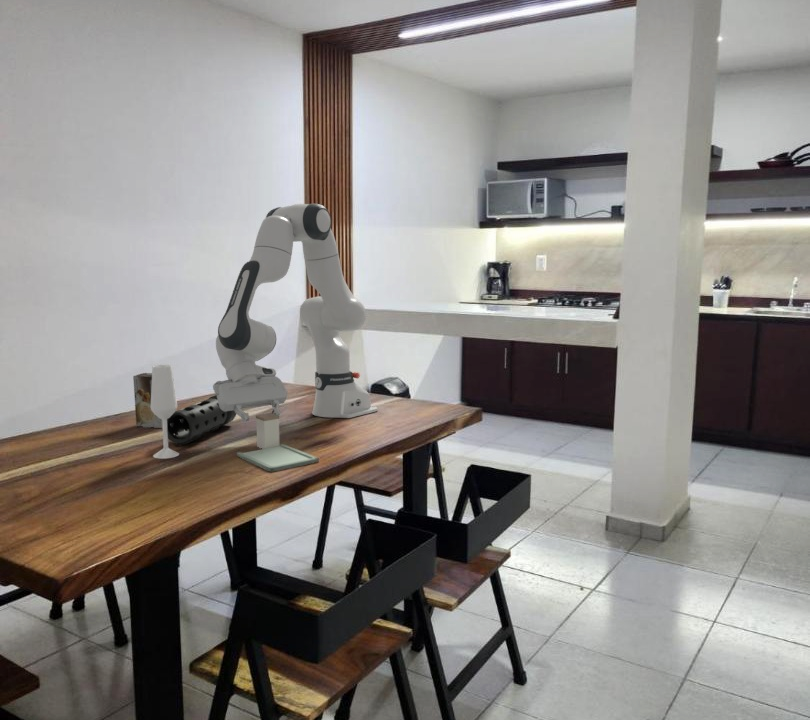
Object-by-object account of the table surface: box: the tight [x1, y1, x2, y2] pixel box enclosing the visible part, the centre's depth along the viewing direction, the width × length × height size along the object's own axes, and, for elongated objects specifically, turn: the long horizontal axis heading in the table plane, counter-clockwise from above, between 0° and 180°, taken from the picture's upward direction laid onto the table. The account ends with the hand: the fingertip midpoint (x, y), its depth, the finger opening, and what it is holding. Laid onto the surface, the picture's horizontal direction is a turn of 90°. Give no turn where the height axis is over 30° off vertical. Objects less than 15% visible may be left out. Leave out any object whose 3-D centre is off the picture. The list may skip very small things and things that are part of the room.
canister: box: [255, 412, 280, 450], centre depth 200 cm, size 5×5×9 cm
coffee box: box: [133, 372, 163, 429], centre depth 225 cm, size 9×6×16 cm
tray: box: [236, 443, 320, 473], centre depth 189 cm, size 14×18×1 cm
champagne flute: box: [151, 364, 180, 460], centre depth 191 cm, size 7×7×24 cm
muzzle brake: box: [167, 394, 237, 447], centre depth 214 cm, size 10×28×10 cm, turn 166°
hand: (262, 417), depth 202 cm, fingers open, 8 cm apart
